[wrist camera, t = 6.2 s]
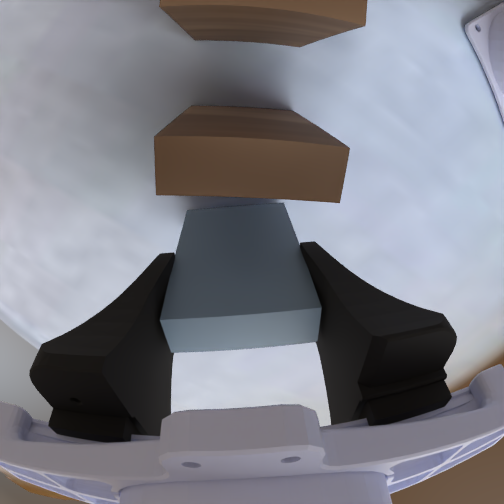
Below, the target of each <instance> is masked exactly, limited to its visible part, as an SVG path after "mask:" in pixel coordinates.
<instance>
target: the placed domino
mask: <svg viewBox="0 0 504 504" xmlns="http://www.w3.org/2000/svg"><path fill="white" fill-rule="evenodd" d="M321 309H322V307H321V304H320V301H319V298H318V295H317V292H316V289H315V287H314V284H313V281H312V278H311V275H310V272H309V270H308V267H307V264H306V262H305V260H304V257H303V255H302V252H301V249H300V245H299V242H298V239H297V237H296V234H295V231H294V229H293V226H292V223H291V221H290V218H289V216H288V213H287V210H286V208H285V205H284V203H270V204H256V205H243V206H230V207H218V208H207V209H196V210H187V213H186V217H185V220H184V224H183V228H182V231H181V235H180V239H179V242H178V246H177V250H176V254H175V260H174V264H173V268H172V272H171V275H170V278H169V282H168V286H167V291H166V295H165V299H164V303H163V308H162V312H161V317H160V322H161V325H162V328H163V331H164V333H165V336H166V339H167V342H168V345H169V348H170V350H171V353H178V352H204V351H223V350H238V349H251V348H263V347H274V346H284V345H293V344H302V343H310V342H317V341H318V333H319V325H320V318H321Z"/></svg>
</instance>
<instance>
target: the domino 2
mask: <svg viewBox="0 0 504 504" xmlns="http://www.w3.org/2000/svg"><path fill="white" fill-rule="evenodd" d="M154 150H155V181H156V195H180V196H222V197H249V198H270V199H288V200H304V201H319V202H332V203H340V199H341V194H342V189H343V183H344V178H345V173H346V167H347V162H348V156H349V150H350V148H349V147H348V146H346V145H345V144H343V143H342V142H340V141H339V140H338V139H336V138H335V137H333V136H332V135H330V134H329V133H327V132H326V131H324V130H323V129H321V128H319V127H318V126H316V125H315V124H313V123H312V122H310V121H309V120H307V119H305V118H304V117H302V116H301V115H299V114H297V113H296V112H294V111H288V110H277V109H266V108H252V107H233V106H191V107H189V108H188V109H187V110H185V111H184V112H183V113H182V114H181V115H179V116H178V117H177V118H176V119H174V120H173V121H172V122H171V123H170V124H168V125H167V126H166V127H165V128H164V129H163V130H161V131H160V132H159V133H158V134H157V135H156V136H154Z"/></svg>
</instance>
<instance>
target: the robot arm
mask: <svg viewBox="0 0 504 504" xmlns="http://www.w3.org/2000/svg"><path fill="white" fill-rule="evenodd" d="M475 26H476V28H477V30H476V28H475ZM465 32H466V34H467V36H468V38H469V40H470V42H471V44H472V46H473V48H474V50H475V52H476V54H477V56H478V58H479V60H480V62H481V64H482V67H483V69H484V71H485V73H486V76H487V78H488V80H489V83H490V85H491V88H492V90H493V93H494V95H495V98H496V101H497V104H498V106H499V109H500V112H501V115H502V118H503V121H504V2H503V3H501V4H499V5H497V6H496V7H494V8H492V9H490V10H489V11H487V12H485V13H484V14H482V15H480V16H478V17H477V18H475V19H473V20H472V21H470V22H468V23H467V24H466V25H465ZM300 249H301V252H302V255H303V257H304V260H305V262H306V264H307V267H308V270H309V272H310V275H311V278H312V281H313V284H314V287H315V289H316V292H317V295H318V298H319V301H320V304H321V307H322V309H321V318H320V325H319V333H318V341H317V342H316V344H317V347H318V351H319V355H320V360H321V364H322V369H323V374H324V380H325V385H326V391H327V397H328V404H329V410H330V417H331V425H329V426H323V427H320V425H319V421H318V417H317V414H316V412H315V410H312V409H310V408H307V407H304V406H302V405H286V404H280V405H271V406H260V407H247V408H231V409H204V410H186V411H178V412H174V413H172V414H171V378H172V363H173V355H174V353H171V350H170V348H169V345H168V342H167V339H166V336H165V333H164V331H163V328H162V325H161V322H160V317H161V312H162V308H163V303H164V299H165V295H166V291H167V286H168V282H169V278H170V275H171V272H172V268H173V264H174V260H175V254H174V253H162V254H159V255H158V256H157V257H156V258H155V259H154V260H153V262H152V263H151V264H150V265H149V266H148V267H147V268H146V269H145V270H144V271H143V273H142V274H141V275H140V276H139V277H138V278H137V279H136V280H135V281H134V282H133V283H132V284H131V285H130V286H129V287H128V288H127V289H126V290H125V291H124V292H123V293H122V294H121V295H120V296H119V297H118V298H117V299H115V300H114V301H113V302H112V303H111V304H109V305H108V306H107V307H106V308H104V309H103V310H102V311H100V312H99V313H97V314H96V315H95V316H93V317H92V318H90V319H89V320H87V321H86V322H84V323H83V324H81V325H79V326H78V327H76V328H74V329H72V330H71V331H69V332H67V333H65V334H63V335H61V336H59V337H57V338H54V339H52V340H50V341H48V342H46V343H43V344H42V345H41V347H40V349H39V352H38V353H37V356H36V358H35V360H34V362H33V365H32V367H31V369H30V378H31V381H32V383H33V385H34V386H35V387H36V389H37V390H38V391H39V393H40V394H41V395H42V396H43V397H44V398H45V399H46V400H47V402H48V403H49V404H50V405H51V406H52V407H53V411H52V414H51V417H50V420H49V422H46V421H41V420H37V419H33V418H32V417H31V416H30V414H29V413H28V412H27V411H26V410H24V409H23V408H21V407H20V406H17V405H14V404H10V403H6V402H2V401H0V466H1V467H2V468H4V469H5V470H7V471H8V472H10V473H11V474H13V475H14V476H16V477H17V478H19V479H21V480H24V481H26V482H29V483H31V484H34V485H37V486H39V487H42V488H45V489H48V490H50V491H53V492H56V493H59V494H62V495H65V496H68V497H71V498H74V499H77V500H80V501H84V502H87V503H91V504H392V501H391V497H390V494H391V493H393V492H396V491H399V490H401V489H404V488H406V487H409V486H411V485H414V484H416V483H419V482H421V481H423V480H425V479H427V478H430V477H432V476H434V475H437V474H439V473H441V472H443V471H445V470H447V469H449V468H451V467H453V466H455V465H457V464H459V463H461V462H463V461H465V460H467V459H469V458H471V457H472V456H474V455H476V454H478V453H480V452H482V451H484V450H485V449H487V448H489V447H491V446H493V445H494V444H495V443H496V442H498V441H499V440H500V439H501V438H502V437H503V436H504V368H503V366H502V365H501V364H499V365H496V366H494V367H492V368H489V369H487V370H484V371H482V372H480V373H479V374H478V375H476V376H475V378H474V379H473V380H472V382H471V383H470V385H469V387H466V388H464V389H461V390H459V391H456V392H453V393H450V391H449V389H448V387H447V385H446V383H445V381H444V380H445V379H446V378H447V374H446V372H445V370H444V368H443V367H444V366H445V364H446V362H447V361H448V359H449V357H450V355H451V354H452V352H453V350H454V347H455V345H456V340H457V336H456V333H455V331H454V329H453V328H452V326H451V325H450V323H449V322H448V320H447V319H446V317H445V316H444V315H443V314H441V313H438V312H434V311H430V310H427V309H423V308H420V307H417V306H414V305H412V304H409V303H406V302H404V301H402V300H399V299H397V298H395V297H393V296H391V295H388V294H386V293H384V292H382V291H381V290H379V289H377V288H375V287H374V286H372V285H370V284H368V283H367V282H365V281H364V280H362V279H361V278H359V277H358V276H356V275H355V274H354V273H352V272H351V271H349V270H348V269H347V268H345V267H344V266H343V265H342V264H340V263H339V262H338V261H337V260H336V259H334V258H333V257H332V256H331V255H330V254H329V253H327V252H326V251H325V250H324V249H323V248H322V247H321V246H319V245H318V244H317V243H316V242H302V243H300Z"/></svg>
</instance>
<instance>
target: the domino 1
mask: <svg viewBox="0 0 504 504" xmlns="http://www.w3.org/2000/svg"><path fill="white" fill-rule="evenodd" d="M159 7H160V8H161V9H162V10H163V11H165V12H166V13H167V14H168V15H169V16H170V17H171V18H172V19H173V20H174V21H175V22H177V23H178V24H179V25H180V26H181V27H182V28H183V29H184V30H185V31H186V32H187V33H188V34H189V35H190V36H191V37H192V38H193V39H194V40H218V41H243V42H257V43H268V44H278V45H287V46H294V47H302V46H305V45H307V44H310V43H313V42H316V41H318V40H321V39H324V38H327V37H330V36H333V35H336V34H340V33H343V32H346V31H349V30H353V29H356V28H360V27H363V26H365V25H366V11H367V0H160V5H159Z"/></svg>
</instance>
